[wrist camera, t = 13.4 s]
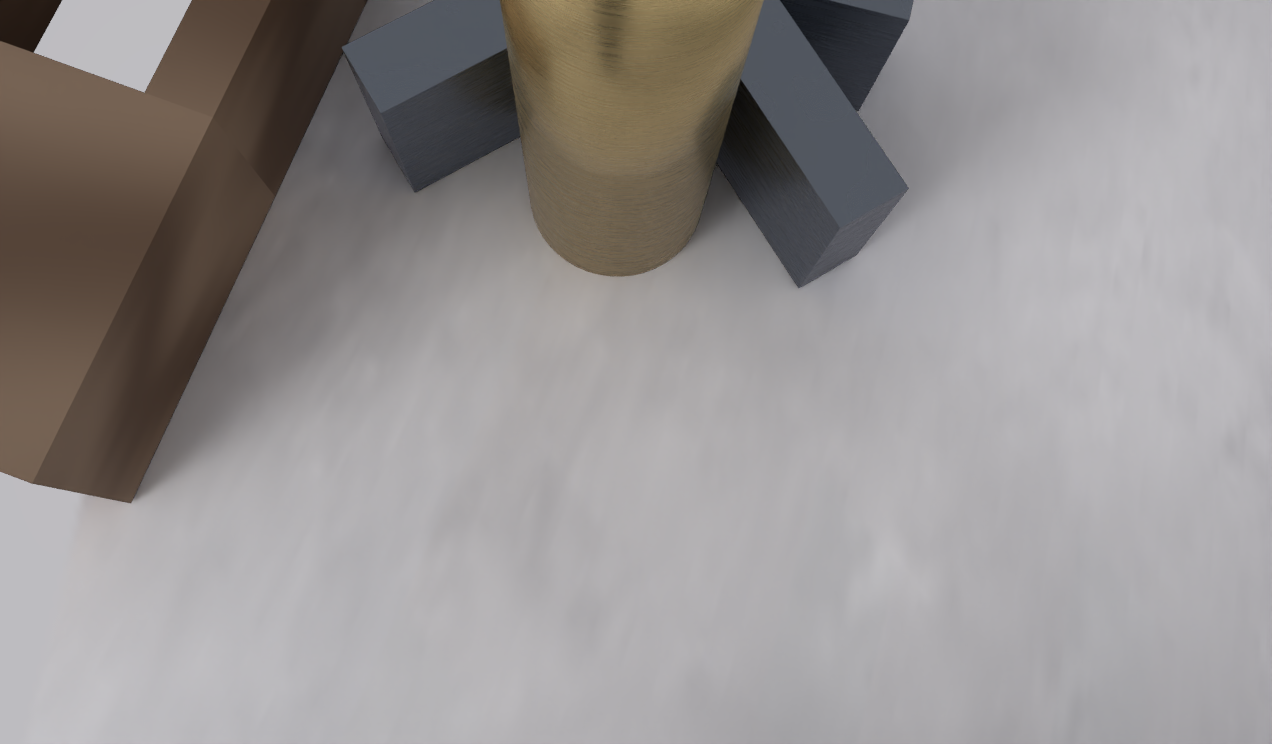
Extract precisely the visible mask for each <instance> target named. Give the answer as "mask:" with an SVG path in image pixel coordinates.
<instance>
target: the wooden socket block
mask: <svg viewBox="0 0 1272 744" xmlns="http://www.w3.org/2000/svg"><path fill="white" fill-rule="evenodd" d="M61 1H62V0H0V472H3V473H5V474H8V475H11V476H13V477H16V478H19V479H21V480H24V481H27V482H29V483H32V484H37V485H43V486H47V487H52V488H57V489H62V490H68V491H72V492H77V493H82V494H87V495H92V496H97V497H102V498H107V499H112V500H117V501H122V502H127V503H131V502H132V500H133V498H134V496H135V493H136V491H137V489H138V487H139V485H140V483H141V481H142V479H143V476H144V474H145V472H146V470H147V468H148V466H149V464H150V462H151V459H152V457H153V455H154V453H155V451H156V449H157V447H158V445H159V442H160V440H161V438H162V436H163V434H164V432H165V430H166V428H167V425H168V423H169V421H170V419H171V417H172V415H173V413H174V410H175V408H176V406H177V404H178V402H179V400H180V398H181V396H182V393H183V391H184V389H185V387H186V385H187V383H188V381H189V379H190V376H191V374H192V372H193V370H194V368H195V366H196V364H197V362H198V359H199V357H200V355H201V353H202V351H203V349H204V347H205V345H206V342H207V340H208V338H209V336H210V334H211V332H212V330H213V328H214V325H215V323H216V321H217V319H218V317H219V315H220V313H221V310H222V308H223V306H224V304H225V302H226V300H227V298H228V296H229V293H230V291H231V289H232V287H233V285H234V283H235V281H236V279H237V276H238V274H239V272H240V270H241V268H242V266H243V264H244V262H245V259H246V257H247V255H248V253H249V251H250V249H251V247H252V245H253V242H254V240H255V238H256V236H257V234H258V232H259V230H260V227H261V225H262V223H263V221H264V219H265V217H266V215H267V213H268V210H269V208H270V206H271V204H272V202H273V200H274V198H275V196H276V193H277V191H278V189H279V187H280V185H281V183H282V181H283V179H284V176H285V174H286V172H287V170H288V168H289V166H290V164H291V162H292V159H293V157H294V155H295V153H296V151H297V149H298V147H299V144H300V142H301V140H302V138H303V136H304V134H305V132H306V130H307V127H308V125H309V123H310V121H311V119H312V117H313V115H314V113H315V110H316V108H317V106H318V104H319V102H320V100H321V98H322V96H323V93H324V91H325V89H326V87H327V85H328V83H329V81H330V79H331V76H332V74H333V72H334V70H335V68H336V66H337V64H338V61H339V59H340V57H341V55H342V53H343V49H342V46H344V45H346V44H347V42H348V40H349V38H350V36H351V34H352V32H353V30H354V27H355V25H356V23H357V21H358V19H359V17H360V15H361V13H362V10H363V8H364V6H365V4H366V2H367V0H192V1H191V3H190V5H189V7H188V9H187V11H186V13H185V15H184V17H183V19H182V21H181V23H180V25H179V27H178V29H177V31H176V33H175V35H174V36H173V38H172V41H171V43H170V45H169V46H168V48H167V50H166V52H165V54H164V56H163V58H162V60H161V62H160V64H159V66H158V68H157V70H156V72H155V73H154V75H153V77H152V79H151V82H150V83H149V85H148V87H147V89H146V91H145V93H144V92H141V91H138V90H135V89H133V88H130V87H127V86H124V85H121V84H119V83H116V82H113V81H110V80H108V79H105V78H102V77H99V76H96V75H94V74H91V73H88V72H85V71H83V70H80V69H77V68H74V67H71V66H68V65H66V64H63V63H60V62H57V61H54V60H52V59H49V58H47V57H44V56H41V55H38V54H35V53H34V51H35V49H36V47H37V45H38V43H39V41H40V39H41V38H42V36H43V34H44V32H45V31H46V29H47V27H48V25H49V23H50V21H51V20H52V18H53V16H54V14H55V12H56V10H57V8H58V7H59V5H60V3H61Z"/></svg>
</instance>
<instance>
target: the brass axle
mask: <svg viewBox="0 0 1272 744" xmlns="http://www.w3.org/2000/svg"><path fill="white" fill-rule="evenodd" d="M763 1H764V0H500V5H501V12H502V18H503V25H504V31H505V38H506V44H507V51H508V58H509V64H510V71H511V77H512V84H513V90H514V97H515V104H516V110H517V117H518V123H519V130H520V136H521V143H522V150H523V156H524V163H525V169H526V176H527V182H528V189H529V196H530V202H531V208H532V212H533V216H534V219H535V222H536V224H537V227H538V229H539V231H540V232H541V234H542V236H543V238H544V239H545V240H546V241H547V243H548V244H549V245H550V247H551V248H552V249H553V250H554V251H555V252H556V253H557V254H558V255H560V256H561V257H562V258H564V259H565V260H566V261H568V262H569V263H571V264H573V265H575V266H576V267H578V268H581V269H583V270H586V271H588V272H592V273H595V274H599V275H606V276H630V275H636V274H640V273H644V272H647V271H650V270H652V269H655V268H657V267H659V266H661V265H662V264H664V263H666V262H667V261H669V260H670V259H671V258H673V257H674V256H675V255H676V254H677V253H678V252H679V251H681V250H682V248H683V247H684V246H685V245H686V244H687V242H688V241H689V240H690V238H691V236H692V235H693V233H694V231H695V229H696V227H697V224H698V222H699V219H700V215H701V212H702V209H703V205H704V202H705V198H706V195H707V191H708V188H709V185H710V181H711V178H712V174H713V171H714V168H715V164H716V161H717V157H718V154H719V151H720V147H721V144H722V140H723V137H724V134H725V130H726V127H727V123H728V120H729V117H730V113H731V110H732V106H733V103H734V100H735V96H736V93H737V89H738V86H739V83H740V79H741V76H742V72H743V69H744V66H745V62H746V59H747V55H748V52H749V48H750V45H751V42H752V38H753V35H754V31H755V28H756V25H757V21H758V18H759V14H760V11H761V8H762V4H763Z"/></svg>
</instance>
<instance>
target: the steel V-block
mask: <svg viewBox="0 0 1272 744" xmlns="http://www.w3.org/2000/svg"><path fill="white" fill-rule="evenodd" d="M912 5H913V0H764V1H763V4H762V8H761V11H760V14H759V18H758V21H757V25H756V28H755V31H754V35H753V38H752V42H751V45H750V48H749V52H748V55H747V59H746V62H745V66H744V69H743V72H742V76H741V79H740V83H739V86H738V89H737V93H736V96H735V100H734V103H733V106H732V110H731V113H730V117H729V120H728V123H727V127H726V130H725V134H724V137H723V140H722V144H721V147H720V151H719V154H718V157H717V161H716V162H717V164H718V165H719V167H720V168H721V170H722V172H723V173H724V175H725V176H726V178H727V179H728V181H729V182H730V184H731V185H732V187H733V188H734V190H735V191H736V193H737V195H738V196H739V198H740V199H741V201H742V202H743V204H744V205H745V207H746V208H747V210H748V211H749V213H750V214H751V216H752V218H753V219H754V221H755V222H756V224H757V225H758V227H759V228H760V230H761V231H762V233H763V234H764V236H765V237H766V239H767V241H768V242H769V244H770V245H771V247H772V248H773V250H774V251H775V253H776V254H777V256H778V257H779V259H780V260H781V262H782V264H783V265H784V267H785V268H786V270H787V271H788V273H789V274H790V276H791V277H792V279H793V280H794V282H795V283H796V285H797V286H798V288H801V287H802V286H804V285H806V284H807V283H809V282H811V281H813V280H814V279H816V278H818V277H819V276H821V275H823V274H825V273H826V272H828V271H830V270H831V269H833V268H835V267H837V266H838V265H840V264H842V263H843V262H845V261H847V260H849V259H850V258H852V257H854V256H855V255H857V254H858V252H859V251H860V250H861V249H862V247H863V246H864V245H865V243H866V242H867V241H868V240H869V238H870V237H871V236H872V235H873V233H874V232H875V231H876V230H877V228H878V227H879V226H880V224H881V223H882V222H883V221H884V219H885V218H886V217H887V216H888V214H889V213H890V212H891V210H892V209H893V208H894V207H895V205H896V204H897V203H898V202H899V200H900V199H901V198H902V197H903V195H904V194H905V193H906V191H907V190H908V189H909V188H908V187H907V185H906V184H905V182H904V181H903V179H902V178H901V176H900V175H899V173H898V172H897V170H896V169H895V168H894V166H893V165H892V163H891V162H890V160H889V159H888V157H887V156H886V154H885V153H884V151H883V150H882V149H881V147H880V146H879V144H878V143H877V141H876V140H875V138H874V137H873V135H872V134H871V133H870V131H869V130H868V128H867V127H866V125H865V124H864V122H863V121H862V119H861V118H860V116H859V115H858V114H857V112H856V111H855V110H857V111H859V109H860V107H861V106H862V104H863V102H864V100H865V98H866V97H867V95H868V93H869V91H870V90H871V88H872V86H873V84H874V82H875V81H876V79H877V77H878V75H879V73H880V72H881V70H882V68H883V66H884V64H885V63H886V61H887V59H888V57H889V55H890V54H891V52H892V50H893V48H894V46H895V45H896V43H897V41H898V39H899V38H900V36H901V34H902V32H903V30H904V29H905V27H906V25H907V23H908V21H909V19H910V14H911V9H912ZM342 49H343V52H344V54H345V56H346V58H347V61H348V63H349V65H350V67H351V69H352V72H353V74H354V76H355V78H356V80H357V83H358V85H359V87H360V89H361V92H362V94H363V96H364V98H365V100H366V103H367V105H368V107H369V109H370V111H371V114H372V116H373V118H374V120H375V123H376V125H377V127H378V129H379V131H380V134H381V136H382V138H383V139H384V141H385V143H386V144H387V146H388V148H389V149H390V151H391V153H392V154H393V156H394V158H395V159H396V161H397V163H398V165H399V166H400V168H401V170H402V171H403V173H404V175H405V176H406V178H407V180H408V181H409V183H410V185H411V187H412V188H413V190H414V192H417V191H419V190H421V189H422V188H424V187H426V186H428V185H430V184H432V183H434V182H436V181H437V180H439V179H441V178H443V177H445V176H447V175H449V174H451V173H452V172H454V171H456V170H458V169H460V168H462V167H464V166H466V165H468V164H469V163H471V162H473V161H475V160H477V159H479V158H481V157H483V156H484V155H486V154H488V153H490V152H492V151H494V150H496V149H498V148H499V147H501V146H503V145H505V144H507V143H509V142H511V141H513V140H514V139H516V138H518V137H520V130H519V123H518V117H517V110H516V104H515V97H514V90H513V84H512V77H511V71H510V64H509V58H508V51H507V44H506V38H505V31H504V25H503V18H502V12H501V5H500V0H434V1H432V2H430V3H428V4H426V5H424V6H422V7H420V8H418V9H416V10H414V11H412V12H410V13H408V14H406V15H404V16H402V17H400V18H398V19H396V20H394V21H392V22H390V23H388V24H386V25H384V26H382V27H380V28H378V29H376V30H374V31H372V32H370V33H368V34H366V35H364V36H362V37H360V38H358V39H356V40H354V41H352V42H350V43H348V44H346V45H344V46H342Z"/></svg>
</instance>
